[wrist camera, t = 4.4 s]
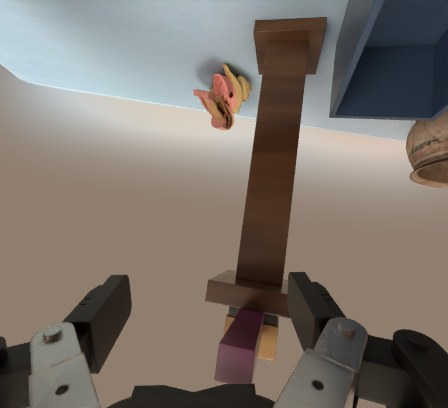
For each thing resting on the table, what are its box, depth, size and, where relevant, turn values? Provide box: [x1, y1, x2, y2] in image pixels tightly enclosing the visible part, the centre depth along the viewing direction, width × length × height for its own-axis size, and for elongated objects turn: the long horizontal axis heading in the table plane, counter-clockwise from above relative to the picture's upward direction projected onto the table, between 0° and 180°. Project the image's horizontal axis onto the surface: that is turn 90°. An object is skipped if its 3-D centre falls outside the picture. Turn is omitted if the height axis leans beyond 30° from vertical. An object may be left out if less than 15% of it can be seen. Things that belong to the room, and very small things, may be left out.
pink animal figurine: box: [193, 64, 252, 130], centre depth 43 cm, size 9×10×10 cm
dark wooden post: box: [205, 17, 326, 318], centre depth 30 cm, size 10×9×34 cm
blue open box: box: [329, 0, 448, 121], centre depth 21 cm, size 20×11×10 cm, turn 12°
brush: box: [214, 306, 279, 384], centre depth 23 cm, size 16×5×4 cm, turn 12°
